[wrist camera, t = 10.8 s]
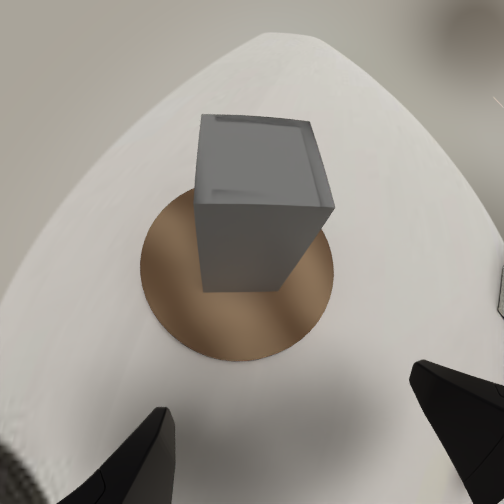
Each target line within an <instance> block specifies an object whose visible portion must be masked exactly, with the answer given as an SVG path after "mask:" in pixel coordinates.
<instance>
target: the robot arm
mask: <svg viewBox="0 0 504 504" xmlns="http://www.w3.org/2000/svg"><path fill="white" fill-rule="evenodd" d="M409 382H410V385H411V387H412V389H413V391H414V393H415V395H416V398H417V400H418V402H419V404H420V406H421V408H422V410H423V412H424V414H425V416H426V417H427V419H428V421H429V422H430V424H431V426H432V428H433V429H434V431H435V433H436V434H437V436H438V438H439V440H440V441H441V443H442V445H443V447H444V448H445V450H446V452H447V454H448V456H449V457H450V459H451V461H452V463H453V465H454V467H455V468H456V470H457V472H458V474H459V476H460V478H461V480H462V482H463V484H464V486H465V488H466V490H467V492H468V494H469V496H470V498H471V500H472V502H473V504H498V503H499V502H500V501H501V500H502V499H504V386H503V385H499V384H496V383H493V382H490V381H486V380H483V379H480V378H477V377H474V376H471V375H468V374H465V373H462V372H459V371H456V370H453V369H450V368H447V367H444V366H441V365H438V364H435V363H432V362H429V361H427V360H420V361H417V362H415V363H414V364H413V367H412V371H411V374H410V378H409ZM174 473H175V423H174V420H173V418H172V415H171V413H170V410H169V409H168V408H167V407H156V408H155V409H154V410H153V411H152V412H151V413H150V414H149V415H148V417H147V418H146V419H145V420H144V421H143V422H142V423H141V424H140V425H139V426H138V427H137V428H136V430H135V431H134V432H133V433H132V434H131V435H130V436H129V437H128V438H127V439H126V440H125V441H124V442H123V443H122V445H121V446H120V447H119V448H118V449H117V450H116V451H115V452H114V453H113V454H112V455H111V456H110V457H109V458H108V459H107V460H106V461H105V462H104V463H103V464H102V465H101V466H100V469H97V470H96V471H95V472H94V473H93V475H91V476H90V477H89V478H88V479H87V480H86V481H85V482H84V483H83V484H82V485H81V486H79V487H78V488H77V489H76V490H74V491H73V492H72V493H70V494H69V495H68V496H66V497H65V498H64V499H62V500H61V501H60V502H58V503H57V504H171V501H172V491H173V481H174Z"/></svg>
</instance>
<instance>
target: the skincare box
mask: <svg viewBox="0 0 504 504" xmlns="http://www.w3.org/2000/svg"><path fill="white" fill-rule="evenodd" d="M498 310H499V312H500V313H501V314H502V315H503V317H504V266H503V275H502V286H501V295H500V303H499V309H498Z"/></svg>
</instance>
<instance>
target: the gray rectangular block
mask: <svg viewBox="0 0 504 504" xmlns="http://www.w3.org/2000/svg"><path fill="white" fill-rule="evenodd" d="M193 205H194V216H195V226H196V236H197V245H198V254H199V263H200V271H201V279H202V287H203V293H213V292H270V291H278V290H279V289H280V288H281V286H282V285H283V283H284V282H285V281H286V279H287V278H288V276H289V275H290V273H291V272H292V271H293V269H294V268H295V266H296V265H297V263H298V262H299V261H300V259H301V258H302V256H303V255H304V253H305V252H306V250H307V249H308V248H309V246H310V245H311V243H312V242H313V240H314V239H315V237H316V236H317V234H318V233H319V231H320V230H321V228H322V227H323V225H324V224H325V222H326V221H327V219H328V218H329V216H330V215H331V213H332V212H333V210H334V209H335V205H334V201H333V197H332V193H331V190H330V186H329V183H328V179H327V175H326V172H325V169H324V165H323V162H322V159H321V155H320V152H319V149H318V146H317V142H316V139H315V136H314V133H313V130H312V127H311V124H310V122H309V121H301V120H293V119H283V118H273V117H261V116H245V115H215V114H202V115H201V124H200V132H199V142H198V152H197V163H196V174H195V187H194V201H193Z"/></svg>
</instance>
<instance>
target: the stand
mask: <svg viewBox="0 0 504 504" xmlns="http://www.w3.org/2000/svg"><path fill="white" fill-rule="evenodd" d="M193 201H194V188H193V189H191V190H189V191H187V192H185V193H184V194H182V195H180V196H179V197H177V198H176V199H175V200H173V201H172V202H171V203H170V204H168V205H167V206H166V207H165V208H164V209H163V210H162V212H161V213H160V214H159V215H158V216H157V218H156V219H155V221H154V222H153V224H152V226H151V227H150V229H149V231H148V233H147V236H146V238H145V241H144V245H143V248H142V253H141V261H140V273H141V281H142V287H143V290H144V293H145V296H146V299H147V301H148V303H149V306H150V308H151V310H152V311H153V313H154V314H155V316H156V317H157V319H158V320H159V322H160V323H161V324H162V325H163V326H164V327H165V328H166V329H167V331H168V332H169V333H170V334H171V335H173V336H174V337H175V338H176V339H177V340H179V341H180V342H181V343H182V344H184V345H185V346H187V347H189V348H190V349H192V350H194V351H196V352H198V353H201V354H203V355H205V356H208V357H212V358H216V359H220V360H228V361H250V360H256V359H261V358H264V357H267V356H271V355H274V354H276V353H279V352H281V351H283V350H285V349H287V348H289V347H291V346H292V345H294V344H295V343H297V342H298V341H300V340H301V339H302V338H303V337H304V336H305V335H306V334H308V333H309V332H310V331H311V330H312V328H313V327H314V326H315V325H316V323H317V322H318V321H319V319H320V318H321V316H322V314H323V313H324V311H325V309H326V306H327V304H328V302H329V299H330V295H331V291H332V287H333V277H334V271H333V260H332V254H331V250H330V247H329V244H328V241H327V239H326V237H325V235H324V233H323V231H322V229H321V230H320V231H319V233H318V234H317V236H316V237H315V239H314V240H313V242H312V243H311V245H310V246H309V248H308V249H307V250H306V252H305V253H304V255H303V256H302V258H301V259H300V261H299V262H298V263H297V265H296V266H295V268H294V269H293V271H292V272H291V273H290V275H289V276H288V278H287V279H286V281H285V282H284V283H283V285H282V286H281V288H280V289H279V290H278V291H270V292H213V293H203V287H202V279H201V271H200V263H199V254H198V245H197V236H196V226H195V216H194V205H193Z"/></svg>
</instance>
